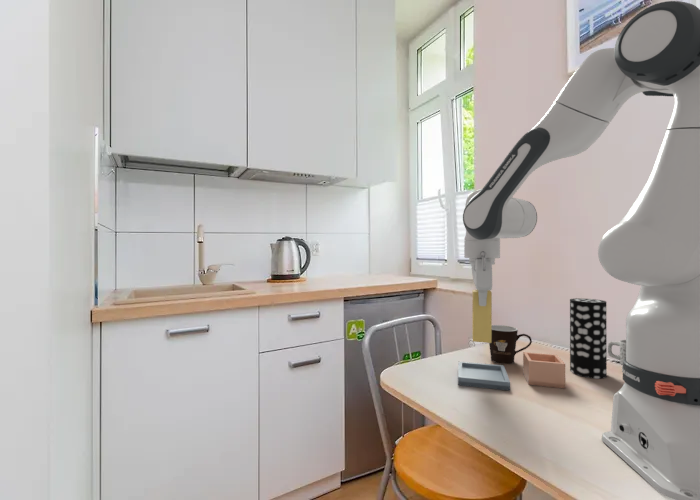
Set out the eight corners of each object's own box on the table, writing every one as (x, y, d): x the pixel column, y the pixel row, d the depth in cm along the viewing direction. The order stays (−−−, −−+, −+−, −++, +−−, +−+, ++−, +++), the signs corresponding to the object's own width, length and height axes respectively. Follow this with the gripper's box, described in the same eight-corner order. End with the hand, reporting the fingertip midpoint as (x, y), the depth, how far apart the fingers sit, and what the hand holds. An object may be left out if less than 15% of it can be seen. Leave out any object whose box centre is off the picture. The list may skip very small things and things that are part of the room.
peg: (491, 342, 90) (491, 292, 90) (472, 341, 91) (473, 291, 91) (490, 338, 94) (490, 290, 94) (472, 337, 95) (472, 289, 95)
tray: (510, 390, 84) (510, 382, 84) (458, 385, 88) (458, 377, 88) (503, 372, 97) (503, 365, 97) (458, 368, 101) (458, 361, 101)
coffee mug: (481, 359, 108) (481, 327, 108) (496, 354, 114) (496, 323, 114) (518, 370, 99) (518, 334, 99) (533, 363, 104) (533, 330, 104)
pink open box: (565, 388, 86) (565, 364, 86) (528, 384, 88) (528, 360, 88) (556, 377, 93) (556, 354, 93) (523, 373, 96) (523, 351, 96)
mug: (652, 366, 102) (652, 343, 102) (643, 370, 99) (643, 346, 99) (612, 357, 111) (612, 336, 111) (602, 360, 107) (602, 339, 107)
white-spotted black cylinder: (594, 368, 100) (594, 298, 100) (613, 379, 92) (613, 303, 92) (564, 367, 101) (564, 298, 101) (580, 378, 93) (580, 302, 93)
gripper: (498, 251, 82) (498, 311, 82) (491, 251, 101) (491, 299, 101) (470, 251, 84) (470, 309, 84) (468, 251, 103) (468, 298, 103)
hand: (481, 303), depth 93 cm, fingers closed on peg, 4 cm apart
